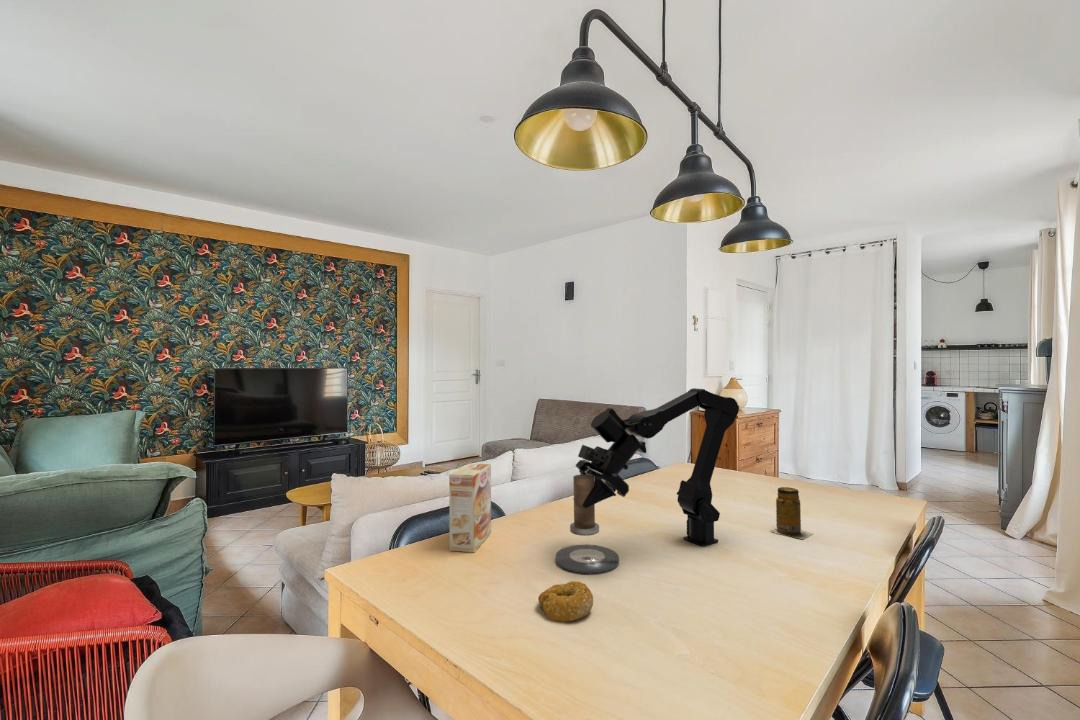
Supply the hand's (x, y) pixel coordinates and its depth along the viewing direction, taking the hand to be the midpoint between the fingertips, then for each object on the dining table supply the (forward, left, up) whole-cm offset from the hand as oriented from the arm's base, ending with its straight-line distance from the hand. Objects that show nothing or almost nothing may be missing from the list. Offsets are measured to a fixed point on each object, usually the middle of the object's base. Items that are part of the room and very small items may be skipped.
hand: (579, 503), depth 118 cm
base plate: (-2, -1, -13) cm, 14 cm away
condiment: (-16, -61, -14) cm, 64 cm away
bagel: (-18, +16, -14) cm, 28 cm away
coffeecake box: (+25, +17, -14) cm, 34 cm away
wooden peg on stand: (0, -1, -7) cm, 7 cm away
